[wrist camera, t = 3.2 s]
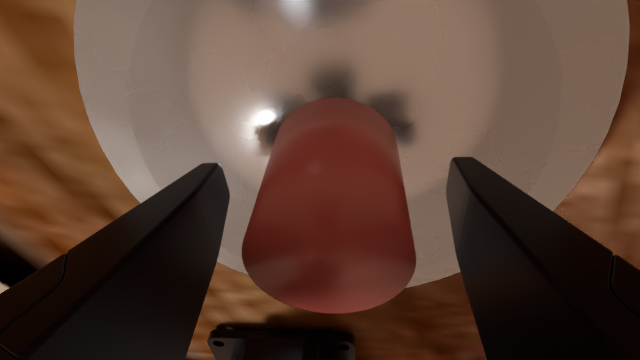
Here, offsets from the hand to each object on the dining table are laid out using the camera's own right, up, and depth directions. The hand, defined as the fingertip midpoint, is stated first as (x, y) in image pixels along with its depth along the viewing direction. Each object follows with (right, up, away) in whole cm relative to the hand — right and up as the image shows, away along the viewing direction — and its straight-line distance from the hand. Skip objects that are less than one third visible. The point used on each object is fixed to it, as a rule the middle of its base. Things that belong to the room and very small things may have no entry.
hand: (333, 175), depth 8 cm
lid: (0, +1, +2) cm, 2 cm away
